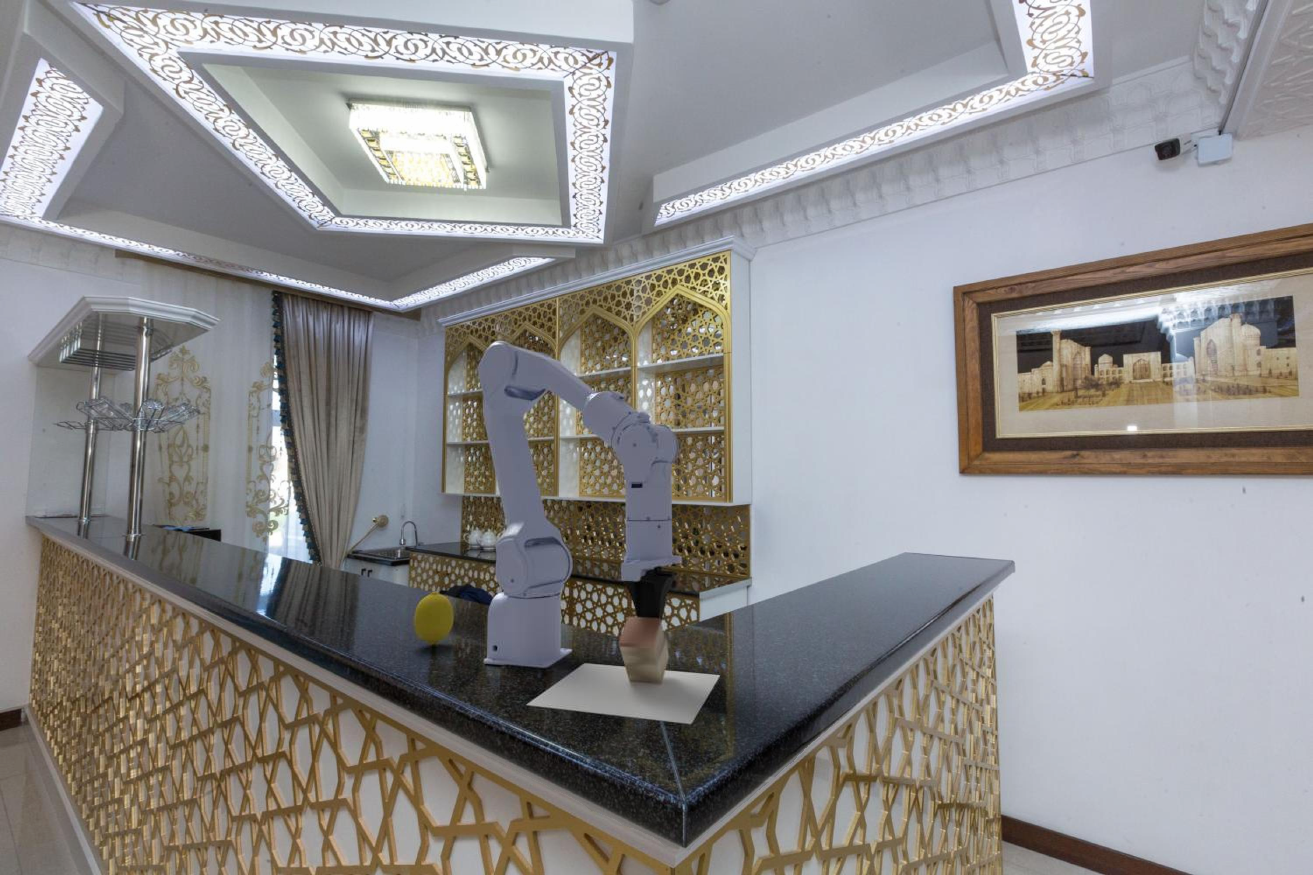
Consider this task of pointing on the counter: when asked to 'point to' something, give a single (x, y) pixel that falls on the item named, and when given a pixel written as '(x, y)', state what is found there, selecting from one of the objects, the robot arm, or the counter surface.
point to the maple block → (644, 649)
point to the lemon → (433, 618)
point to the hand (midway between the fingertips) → (649, 632)
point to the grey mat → (629, 694)
